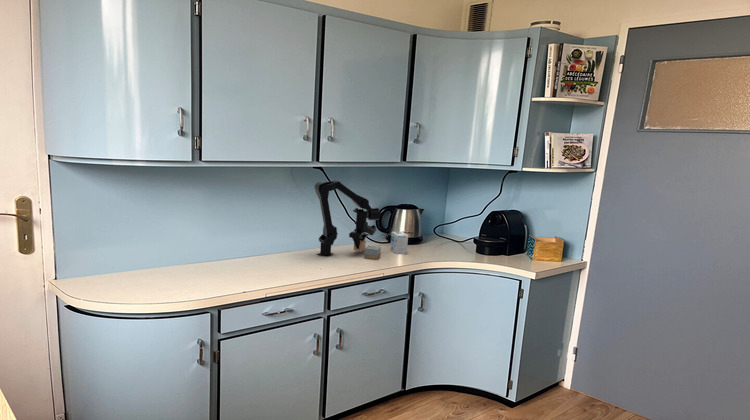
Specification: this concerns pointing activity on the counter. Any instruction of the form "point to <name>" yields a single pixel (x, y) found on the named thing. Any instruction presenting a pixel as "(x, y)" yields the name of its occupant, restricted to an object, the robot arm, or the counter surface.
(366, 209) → the robot arm
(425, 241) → the counter surface
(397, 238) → the light bulb box
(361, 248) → the terracotta cube
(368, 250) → the slate grey block
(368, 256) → the walnut block
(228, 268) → the counter surface
